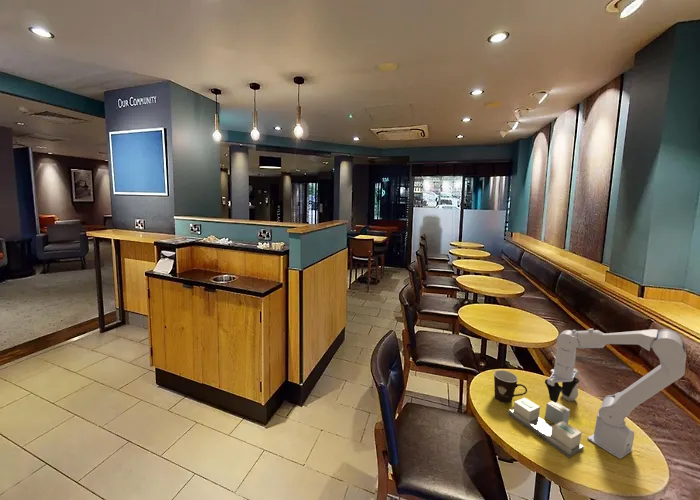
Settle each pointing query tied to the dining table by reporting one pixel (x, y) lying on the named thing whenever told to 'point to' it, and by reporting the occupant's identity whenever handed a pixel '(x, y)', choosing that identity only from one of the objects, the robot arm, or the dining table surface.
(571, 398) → the salt shaker
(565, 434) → the module
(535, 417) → the block
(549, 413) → the block
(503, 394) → the coffee mug
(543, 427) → the rail
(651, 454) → the dining table surface
